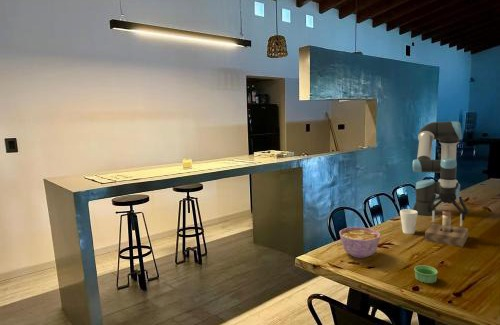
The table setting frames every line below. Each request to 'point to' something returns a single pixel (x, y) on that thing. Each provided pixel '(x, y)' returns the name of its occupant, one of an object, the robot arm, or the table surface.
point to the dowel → (446, 221)
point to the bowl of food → (359, 241)
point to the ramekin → (425, 274)
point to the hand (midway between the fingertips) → (446, 223)
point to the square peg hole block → (446, 235)
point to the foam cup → (408, 220)
